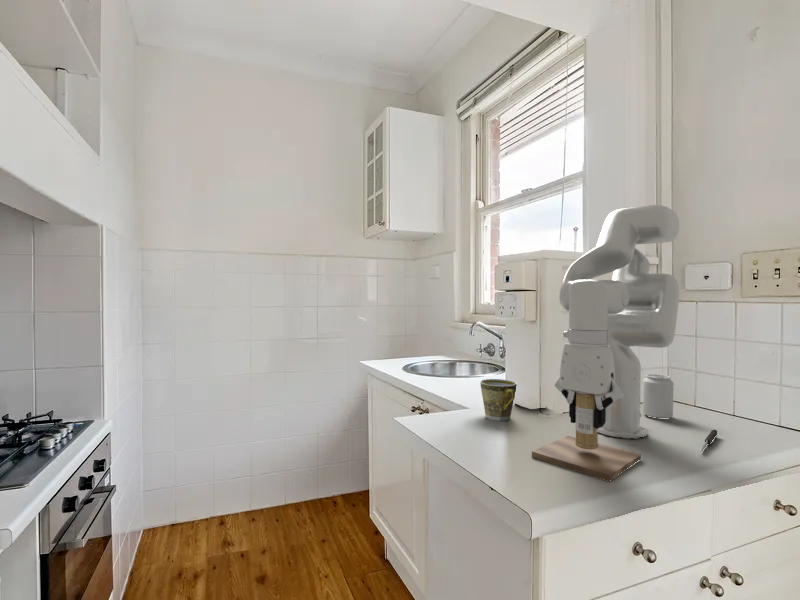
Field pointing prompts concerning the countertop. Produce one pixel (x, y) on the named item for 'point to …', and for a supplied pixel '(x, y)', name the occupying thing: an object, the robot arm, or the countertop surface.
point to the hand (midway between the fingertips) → (586, 423)
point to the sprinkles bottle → (586, 421)
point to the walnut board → (587, 458)
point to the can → (658, 396)
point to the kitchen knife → (709, 438)
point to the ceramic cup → (498, 398)
